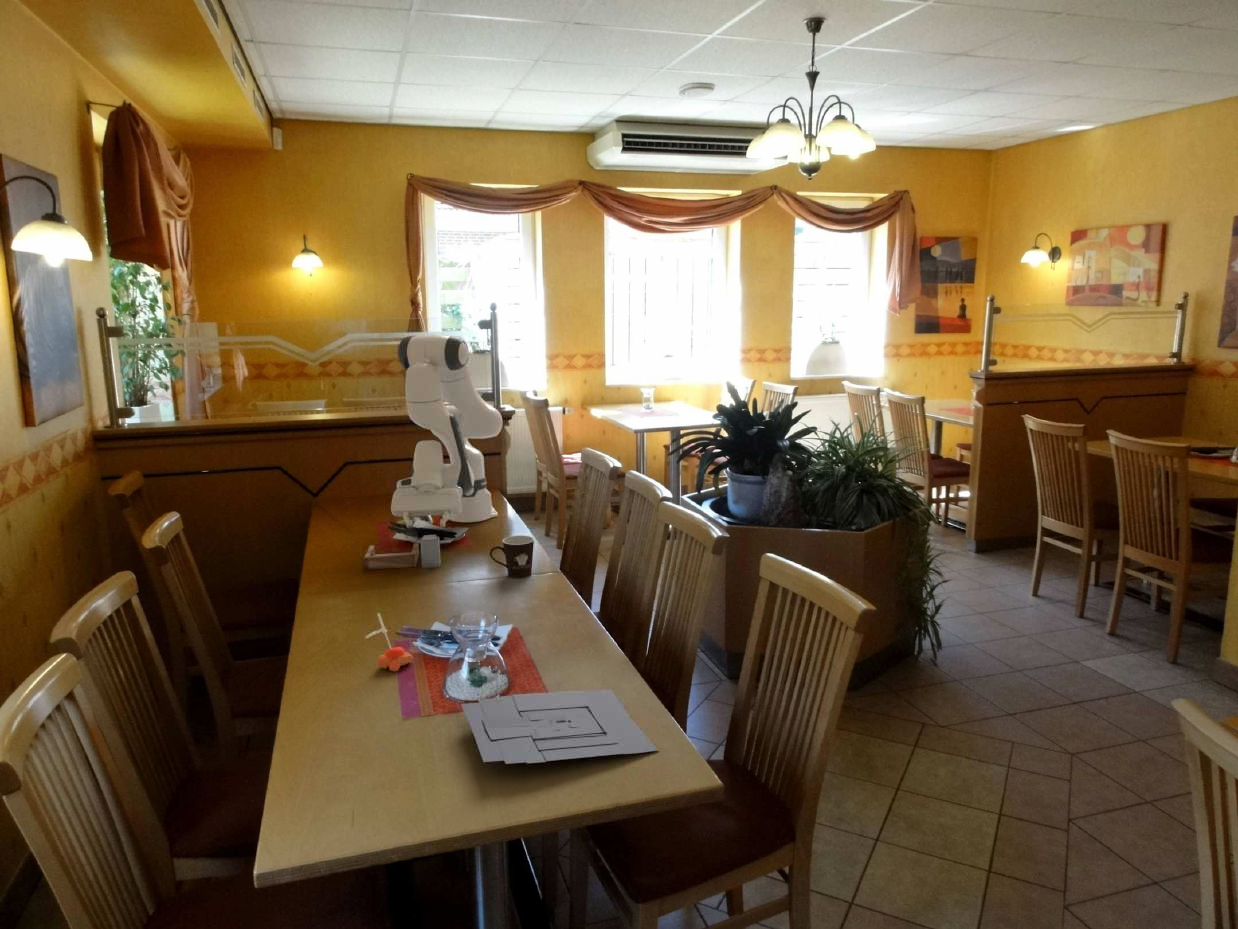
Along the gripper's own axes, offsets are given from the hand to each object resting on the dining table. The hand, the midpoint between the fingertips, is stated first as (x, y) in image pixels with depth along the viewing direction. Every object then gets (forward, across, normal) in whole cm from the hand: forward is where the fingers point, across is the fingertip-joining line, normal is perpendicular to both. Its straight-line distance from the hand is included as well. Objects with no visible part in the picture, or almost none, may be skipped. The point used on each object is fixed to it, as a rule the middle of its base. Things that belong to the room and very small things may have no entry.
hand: (426, 526), depth 243 cm
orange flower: (+58, +2, +42) cm, 71 cm away
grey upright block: (+10, -2, -4) cm, 11 cm away
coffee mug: (+19, -25, +4) cm, 32 cm away
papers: (+81, -30, +65) cm, 108 cm away
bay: (+6, +10, -9) cm, 15 cm away
